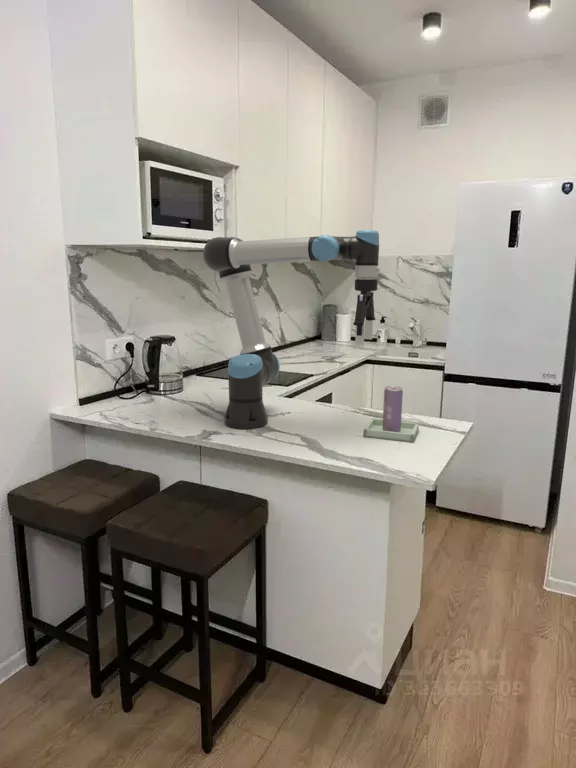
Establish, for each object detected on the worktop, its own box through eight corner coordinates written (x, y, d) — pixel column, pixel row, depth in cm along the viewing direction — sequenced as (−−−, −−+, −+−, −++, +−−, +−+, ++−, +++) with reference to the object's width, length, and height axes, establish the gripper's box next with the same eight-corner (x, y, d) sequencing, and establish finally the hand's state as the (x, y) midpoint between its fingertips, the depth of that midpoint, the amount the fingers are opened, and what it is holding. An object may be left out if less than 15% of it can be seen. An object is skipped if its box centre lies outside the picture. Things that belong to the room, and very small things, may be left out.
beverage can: (404, 431, 183) (406, 387, 179) (393, 435, 179) (396, 391, 175) (389, 427, 187) (391, 384, 183) (378, 431, 183) (380, 387, 179)
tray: (363, 436, 180) (363, 429, 179) (371, 425, 192) (371, 418, 191) (413, 442, 174) (413, 435, 174) (418, 430, 186) (418, 423, 186)
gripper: (369, 280, 170) (367, 348, 175) (384, 277, 193) (381, 337, 198) (345, 280, 172) (344, 347, 177) (363, 276, 195) (361, 336, 200)
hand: (364, 342), depth 188 cm, fingers open, 13 cm apart
